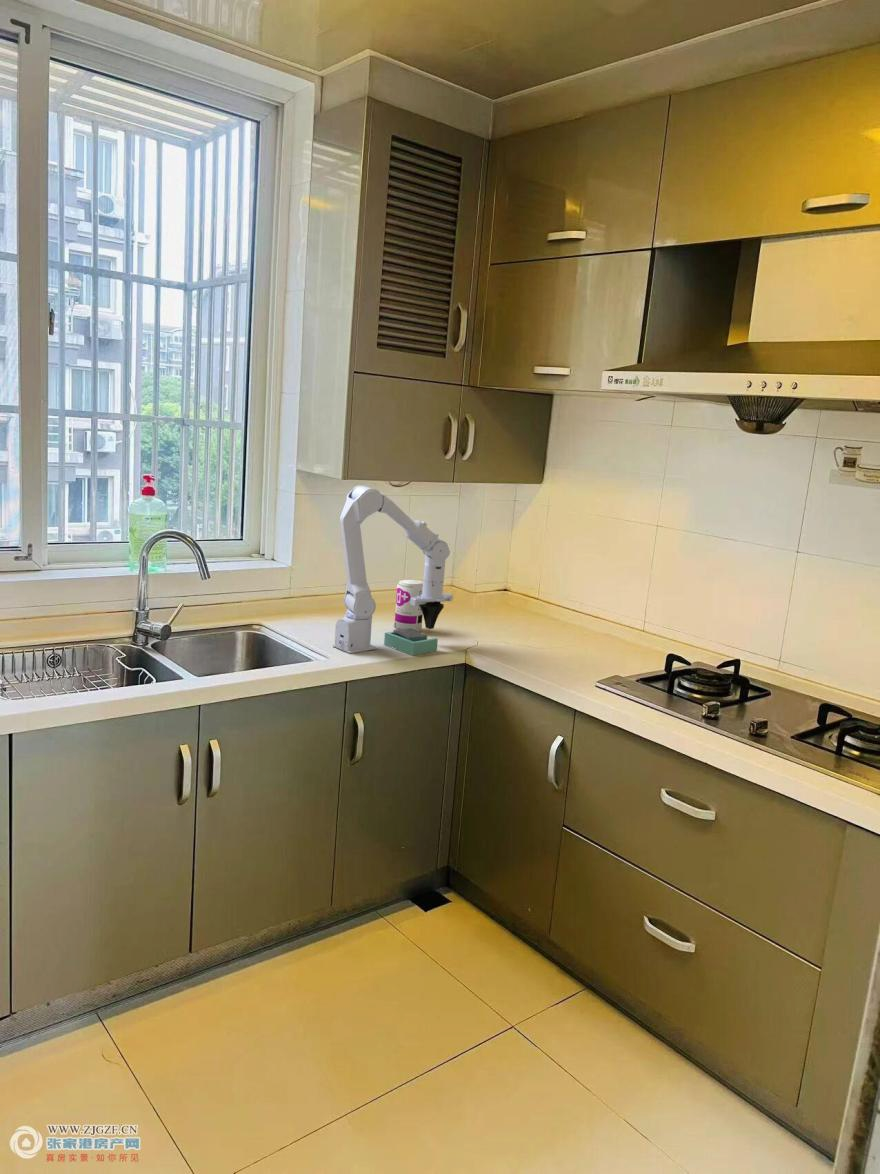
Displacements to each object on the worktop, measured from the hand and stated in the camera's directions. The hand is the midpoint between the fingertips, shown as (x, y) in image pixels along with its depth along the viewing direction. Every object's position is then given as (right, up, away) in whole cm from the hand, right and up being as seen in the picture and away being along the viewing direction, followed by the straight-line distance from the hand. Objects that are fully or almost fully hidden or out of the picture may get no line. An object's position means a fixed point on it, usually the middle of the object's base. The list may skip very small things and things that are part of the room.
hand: (429, 627), depth 249 cm
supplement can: (-7, -2, +15) cm, 16 cm away
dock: (-5, -5, -4) cm, 8 cm away
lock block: (-6, -6, -3) cm, 9 cm away
